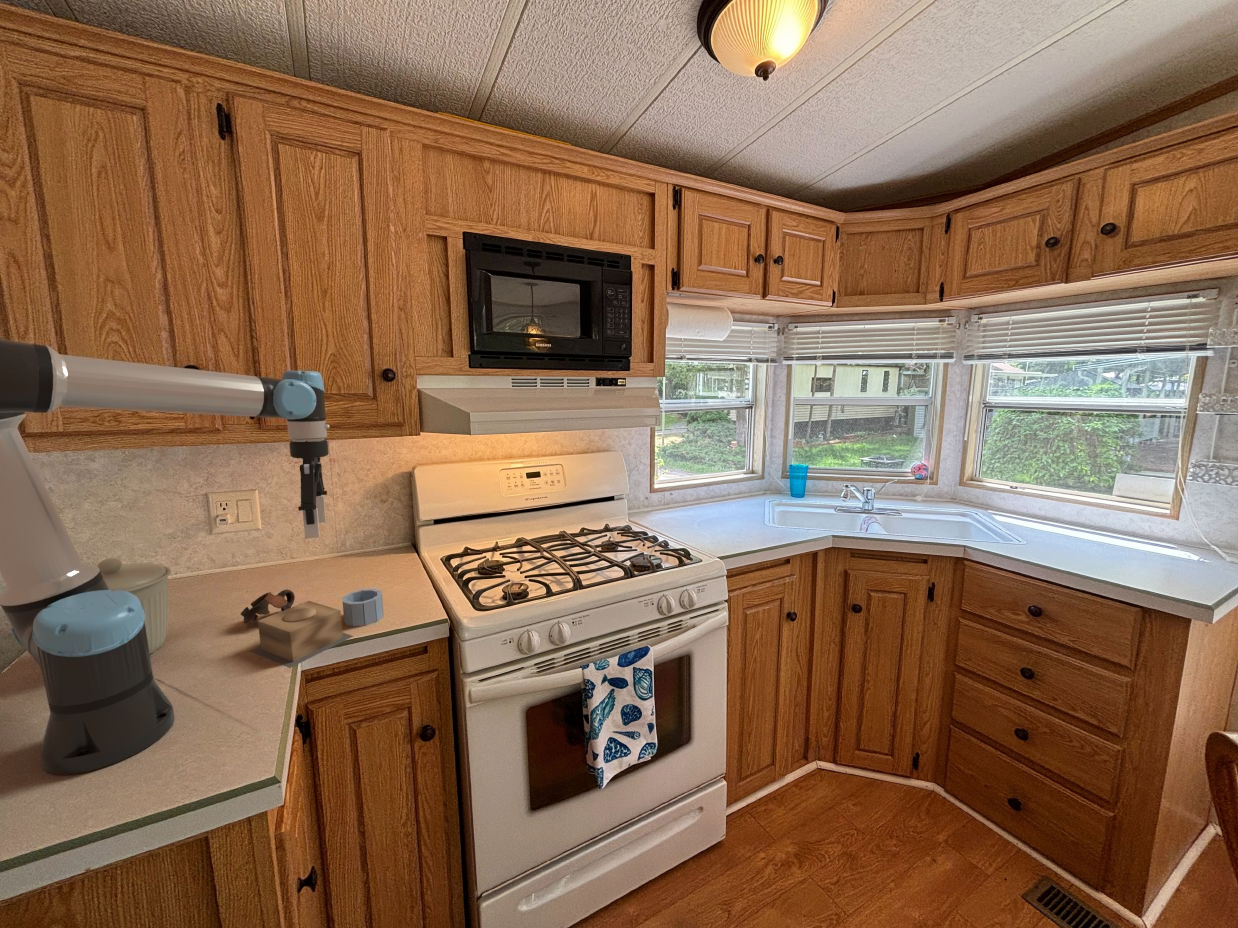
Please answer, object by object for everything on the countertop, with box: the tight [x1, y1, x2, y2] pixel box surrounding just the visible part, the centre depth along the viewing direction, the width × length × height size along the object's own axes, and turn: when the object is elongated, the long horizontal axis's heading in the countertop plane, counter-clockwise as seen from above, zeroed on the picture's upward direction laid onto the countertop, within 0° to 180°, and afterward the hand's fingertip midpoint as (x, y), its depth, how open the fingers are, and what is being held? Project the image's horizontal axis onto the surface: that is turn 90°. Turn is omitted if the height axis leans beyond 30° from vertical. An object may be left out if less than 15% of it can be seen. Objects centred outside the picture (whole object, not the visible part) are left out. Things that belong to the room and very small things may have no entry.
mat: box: [249, 631, 354, 669], centre depth 111 cm, size 14×14×1 cm
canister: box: [97, 557, 172, 655], centre depth 105 cm, size 18×18×21 cm
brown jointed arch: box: [240, 588, 295, 624], centre depth 122 cm, size 12×10×8 cm
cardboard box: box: [257, 600, 344, 662], centre depth 110 cm, size 11×11×7 cm
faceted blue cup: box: [341, 588, 385, 627], centre depth 122 cm, size 8×9×6 cm
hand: (316, 529), depth 119 cm, fingers open, 13 cm apart
